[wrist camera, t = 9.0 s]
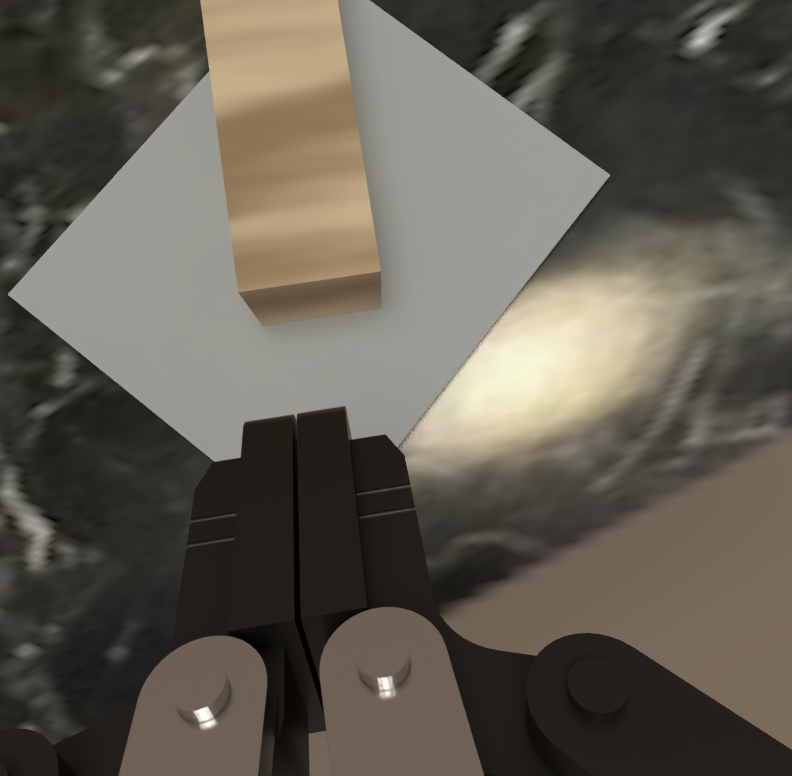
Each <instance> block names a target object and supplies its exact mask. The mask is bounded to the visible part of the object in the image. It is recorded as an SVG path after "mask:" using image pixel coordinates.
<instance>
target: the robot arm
mask: <svg viewBox="0 0 792 776" xmlns="http://www.w3.org/2000/svg"><path fill="white" fill-rule="evenodd" d="M191 522H192V524H191V525H190V528H189V535H188V542H187V544H188V549H187V550H186V555H185V562H184V569H183V576H182V583H181V589H180V596H179V603H178V610H177V617H176V624H175V630H174V637H173V643H172V648H171V652H170V654H169V655H168V656H167V657H165V658H164V659H163V660H162V661H161V662H160V663H159V664H158V665H157V666H156V667H155V668H154V670H153V671H152V672H151V674H150V675H149V677H148V678H147V680H146V682H145V683H144V685H143V687H142V689H141V692H140V695H139V698H138V699H137V700H136V701H135V702H134V703H133V704H131V705H130V706H128V707H127V708H125V709H124V710H123V711H121V712H119V713H118V714H116V715H114V716H112V717H110V718H108V719H106V720H104V721H102V722H100V723H98V724H96V725H94V726H92V727H90V728H88V729H86V730H84V731H82V732H80V733H78V734H76V735H74V736H71V737H69V738H67V739H65V740H63V741H61V742H59V743H57V744H55V745H52V744H51V743H50V742H49V741H48V740H47V739H46V738H45V737H44V736H43V735H41V734H39V733H37V732H35V731H31V730H27V729H9V730H3V731H0V776H309V742H308V741H309V740H308V734H309V733H315V732H320V731H327V738H328V747H329V755H330V762H331V771H332V776H792V750H791V749H789V748H788V747H786V746H785V745H783V744H782V743H780V742H779V741H777V740H776V739H774V738H772V737H771V736H769V735H768V734H766V733H765V732H763V731H762V730H760V729H759V728H757V727H755V726H754V725H752V724H751V723H749V722H748V721H746V720H745V719H743V718H742V717H740V716H738V715H737V714H735V713H734V712H732V711H731V710H729V709H728V708H726V707H725V706H723V705H721V704H720V703H718V702H717V701H715V700H713V699H712V698H711V697H709V696H708V695H706V694H704V693H703V692H701V691H700V690H698V689H697V688H695V687H694V686H692V685H691V684H689V683H687V682H686V681H684V680H683V679H681V678H680V677H678V676H677V675H675V674H674V673H672V672H670V671H669V670H667V669H666V668H664V667H663V666H661V665H660V664H658V663H656V662H655V661H653V660H652V659H650V658H649V657H647V656H646V655H644V654H643V653H641V652H639V651H638V650H636V649H635V648H633V647H632V646H630V645H628V644H626V643H624V642H622V641H620V640H618V639H615V638H612V637H609V636H605V635H601V634H592V633H581V634H573V635H568V636H564V637H562V638H560V639H557V640H555V641H553V642H552V643H550V644H549V645H547V646H546V647H545V648H544V649H543V650H542V651H541V652H539V654H538V655H537V656H533V655H527V654H519V653H512V652H505V651H498V650H493V649H489V648H484V647H482V646H479V645H476V644H474V643H472V642H470V641H468V640H466V639H464V638H463V637H461V636H460V635H458V634H457V633H456V632H454V631H453V630H452V629H451V628H450V627H449V626H448V625H447V624H446V622H445V621H444V620H443V618H442V617H441V616H440V614H439V612H438V610H437V608H436V605H435V602H434V598H433V594H432V589H431V584H430V579H429V574H428V569H427V564H426V560H425V555H424V550H423V545H422V540H421V535H420V530H419V525H418V520H417V515H416V511H415V505H414V500H413V496H412V491H411V487H410V481H409V476H408V471H407V466H406V461H405V456H404V455H403V453H402V452H401V451H400V450H399V449H398V448H397V447H396V446H395V444H394V443H393V442H392V441H391V440H390V439H389V438H388V437H387V435H386V434H384V435H378V436H371V437H365V438H359V439H353V440H352V437H351V431H350V426H349V420H348V415H347V410H346V406H341V407H335V408H329V409H322V410H316V411H310V412H303V413H298V414H297V420H296V417H295V415H294V414H292V415H285V416H279V417H273V418H266V419H260V420H254V421H247V422H245V423H244V425H243V434H242V447H241V458H235V459H229V460H222V461H216V462H213V463H212V465H211V466H210V468H209V469H208V471H207V472H206V474H205V475H204V477H203V478H202V480H201V481H200V483H199V484H198V486H197V487H196V489H195V494H194V501H193V508H192V514H191Z"/></svg>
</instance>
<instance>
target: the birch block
mask: <svg viewBox="0 0 792 776" xmlns="http://www.w3.org/2000/svg"><path fill="white" fill-rule="evenodd" d="M201 8H202V16H203V24H204V31H205V39H206V47H207V55H208V62H209V70H210V78H211V86H212V94H213V101H214V109H215V117H216V125H217V132H218V140H219V148H220V156H221V163H222V171H223V179H224V187H225V194H226V202H227V210H228V218H229V225H230V233H231V241H232V249H233V257H234V264H235V272H236V280H237V288H238V293H239V294H240V296H241V297H242V298H243V300H244V301H245V302H246V304H247V305H248V307H249V308H250V309H251V311H252V312H253V314H254V315H255V316H256V318H257V319H258V320H259V322H260V323H261V325H262V326H267V325H273V324H280V323H287V322H294V321H300V320H307V319H314V318H321V317H327V316H334V315H341V314H348V313H354V312H361V311H368V310H374V309H381V268H380V262H379V256H378V249H377V243H376V237H375V231H374V224H373V218H372V212H371V206H370V199H369V193H368V187H367V181H366V174H365V168H364V162H363V156H362V149H361V143H360V137H359V131H358V124H357V118H356V112H355V105H354V99H353V93H352V87H351V80H350V74H349V68H348V62H347V55H346V49H345V43H344V37H343V30H342V24H341V18H340V12H339V5H338V0H201Z"/></svg>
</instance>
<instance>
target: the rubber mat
mask: <svg viewBox="0 0 792 776" xmlns="http://www.w3.org/2000/svg"><path fill="white" fill-rule="evenodd" d="M338 5H339V12H340V18H341V24H342V30H343V37H344V43H345V49H346V55H347V62H348V68H349V74H350V80H351V87H352V93H353V99H354V105H355V112H356V118H357V124H358V131H359V137H360V143H361V149H362V156H363V162H364V168H365V174H366V181H367V187H368V193H369V199H370V206H371V212H372V218H373V224H374V231H375V237H376V243H377V249H378V256H379V262H380V268H381V309H374V310H368V311H361V312H354V313H348V314H341V315H334V316H327V317H321V318H314V319H307V320H300V321H294V322H287V323H280V324H273V325H267V326H262V325H261V323H260V322H259V320H258V319H257V318H256V316H255V315H254V314H253V312H252V311H251V309H250V308H249V307H248V305H247V304H246V302H245V301H244V300H243V298H242V297H241V296H240V294H239V293H238V288H237V280H236V272H235V264H234V257H233V249H232V241H231V233H230V225H229V218H228V210H227V202H226V194H225V187H224V179H223V171H222V163H221V156H220V148H219V140H218V132H217V125H216V117H215V109H214V101H213V94H212V86H211V78H210V71H209V72H208V73H207V74H206V75H205V77H204V78H203V79H202V80H201V81H200V82H199V83H198V84H197V85H196V86H195V88H194V89H193V90H192V91H191V92H190V93H189V94H188V95H187V96H186V98H185V99H184V100H183V101H182V102H181V103H180V104H179V105H178V106H177V108H176V109H175V110H174V111H173V112H172V113H171V114H170V115H169V116H168V118H167V119H166V120H165V121H164V122H163V123H162V124H161V125H160V126H159V127H158V129H157V130H156V131H155V132H154V133H153V134H152V135H151V136H150V137H149V139H148V140H147V141H146V142H145V143H144V144H143V145H142V146H141V147H140V149H139V150H138V151H137V152H136V153H135V154H134V155H133V156H132V157H131V158H130V160H129V161H128V162H127V163H126V164H125V165H124V166H123V167H122V168H121V170H120V171H119V172H118V173H117V174H116V175H115V176H114V177H113V178H112V180H111V181H110V182H109V183H108V184H107V185H106V186H105V187H104V188H103V190H102V191H101V192H100V193H99V194H98V195H97V196H96V197H95V198H94V199H93V201H92V202H91V203H90V204H89V205H88V206H87V207H86V208H85V209H84V211H83V212H82V213H81V214H80V215H79V216H78V217H77V218H76V219H75V221H74V222H73V223H72V224H71V225H70V226H69V227H68V228H67V229H66V231H65V232H64V233H63V234H62V235H61V236H60V237H59V238H58V239H57V240H56V242H55V243H54V244H53V245H52V246H51V247H50V248H49V249H48V250H47V252H46V253H45V254H44V255H43V256H42V257H41V258H40V259H39V260H38V262H37V263H36V264H35V265H34V266H33V267H32V268H31V269H30V270H29V272H28V273H27V274H26V275H25V276H24V277H23V278H22V279H21V280H20V281H19V283H18V284H17V285H16V286H15V287H14V288H13V289H12V290H11V291H10V293H9V294H8V295H9V296H10V297H11V298H13V299H14V300H15V301H16V302H18V303H19V304H20V305H21V306H22V307H24V308H25V309H26V310H27V311H29V312H30V313H31V314H32V315H34V316H35V317H36V318H37V319H39V320H40V321H41V322H42V323H44V324H45V325H46V326H47V327H48V328H50V329H51V330H52V331H53V332H55V333H56V334H57V335H58V336H60V337H61V338H62V339H63V340H65V341H66V342H67V343H68V344H70V345H71V346H72V347H73V348H74V349H76V350H77V351H78V352H79V353H81V354H82V355H83V356H84V357H86V358H87V359H88V360H89V361H91V362H92V363H93V364H94V365H96V366H97V367H98V368H99V369H100V370H102V371H103V372H104V373H105V374H107V375H108V376H109V377H110V378H112V379H113V380H114V381H115V382H117V383H118V384H119V385H120V386H122V387H123V388H124V389H125V390H126V391H128V392H129V393H130V394H131V395H133V396H134V397H135V398H136V399H138V400H139V401H140V402H141V403H143V404H144V405H145V406H146V407H148V408H149V409H150V410H151V411H152V412H154V413H155V414H156V415H157V416H159V417H160V418H161V419H162V420H164V421H165V422H166V423H167V424H169V425H170V426H171V427H172V428H174V429H175V430H176V431H177V432H179V433H180V434H181V435H182V436H183V437H185V438H186V439H187V440H188V441H190V442H191V443H192V444H193V445H195V446H196V447H197V448H198V449H200V450H201V451H202V452H203V453H205V454H206V455H207V456H208V457H209V458H211V459H212V460H213V461H214V462H216V461H222V460H229V459H235V458H241V447H242V434H243V425H244V423H245V422H247V421H254V420H260V419H266V418H273V417H279V416H285V415H292V414H294V415H295V417H296V420H297V414H298V413H303V412H310V411H316V410H322V409H329V408H335V407H341V406H346V410H347V415H348V420H349V426H350V431H351V437H352V440H353V439H359V438H365V437H371V436H378V435H384V434H386V435H387V437H388V438H389V439H390V440H391V441H392V442H393V443H394V444H395V446H396V447H397V448H398V446H399V445H400V444H401V442H402V441H403V440H404V439H405V437H406V436H407V435H408V434H409V432H410V431H411V430H412V428H413V427H414V426H415V425H416V423H417V422H418V421H419V419H420V418H421V417H422V416H423V414H424V413H425V412H426V411H427V409H428V408H429V407H430V405H431V404H432V403H433V402H434V400H435V399H436V398H437V396H438V395H439V394H440V393H441V391H442V390H443V389H444V387H445V386H446V385H447V384H448V382H449V381H450V380H451V379H452V377H453V376H454V375H455V373H456V372H457V371H458V370H459V368H460V367H461V366H462V364H463V363H464V362H465V361H466V359H467V358H468V357H469V356H470V354H471V353H472V352H473V350H474V349H475V348H476V347H477V345H478V344H479V343H480V341H481V340H482V339H483V338H484V336H485V335H486V334H487V332H488V331H489V330H490V329H491V327H492V326H493V325H494V324H495V322H496V321H497V320H498V318H499V317H500V316H501V315H502V313H503V312H504V311H505V309H506V308H507V307H508V306H509V304H510V303H511V302H512V301H513V299H514V298H515V297H516V295H517V294H518V293H519V292H520V290H521V289H522V288H523V286H524V285H525V284H526V283H527V281H528V280H529V279H530V277H531V276H532V275H533V274H534V272H535V271H536V270H537V269H538V267H539V266H540V265H541V263H542V262H543V261H544V260H545V258H546V257H547V256H548V254H549V253H550V252H551V251H552V249H553V248H554V247H555V246H556V244H557V243H558V242H559V240H560V239H561V238H562V237H563V235H564V234H565V233H566V231H567V230H568V229H569V228H570V226H571V225H572V224H573V223H574V221H575V220H576V219H577V217H578V216H579V215H580V214H581V212H582V211H583V210H584V208H585V207H586V206H587V205H588V203H589V202H590V201H591V199H592V198H593V197H594V196H595V194H596V193H597V192H598V191H599V189H600V188H601V187H602V185H603V184H604V183H605V182H606V180H607V179H608V177H609V176H610V175H609V174H608V173H607V172H605V171H604V170H602V169H601V168H600V167H598V166H597V165H596V164H594V163H593V162H591V161H590V160H589V159H587V158H586V157H584V156H583V155H582V154H580V153H579V152H578V151H576V150H575V149H573V148H572V147H571V146H569V145H568V144H567V143H565V142H564V141H562V140H561V139H560V138H558V137H557V136H556V135H554V134H553V133H551V132H550V131H549V130H547V129H546V128H545V127H543V126H542V125H540V124H539V123H538V122H536V121H535V120H534V119H532V118H531V117H529V116H528V115H527V114H525V113H524V112H523V111H521V110H520V109H518V108H517V107H516V106H514V105H513V104H511V103H510V102H509V101H507V100H506V99H505V98H503V97H502V96H500V95H499V94H498V93H496V92H495V91H494V90H492V89H491V88H489V87H488V86H487V85H485V84H484V83H483V82H481V81H480V80H478V79H477V78H476V77H474V76H473V75H472V74H470V73H469V72H467V71H466V70H465V69H463V68H462V67H461V66H459V65H458V64H456V63H455V62H454V61H452V60H451V59H449V58H448V57H447V56H445V55H444V54H443V53H441V52H440V51H438V50H437V49H436V48H434V47H433V46H432V45H430V44H429V43H427V42H426V41H425V40H423V39H422V38H421V37H419V36H418V35H416V34H415V33H414V32H412V31H411V30H410V29H408V28H407V27H405V26H404V25H403V24H401V23H400V22H399V21H397V20H396V19H394V18H393V17H392V16H390V15H389V14H388V13H386V12H385V11H383V10H382V9H381V8H379V7H378V6H376V5H375V4H374V3H372V2H371V1H370V0H338Z"/></svg>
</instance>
